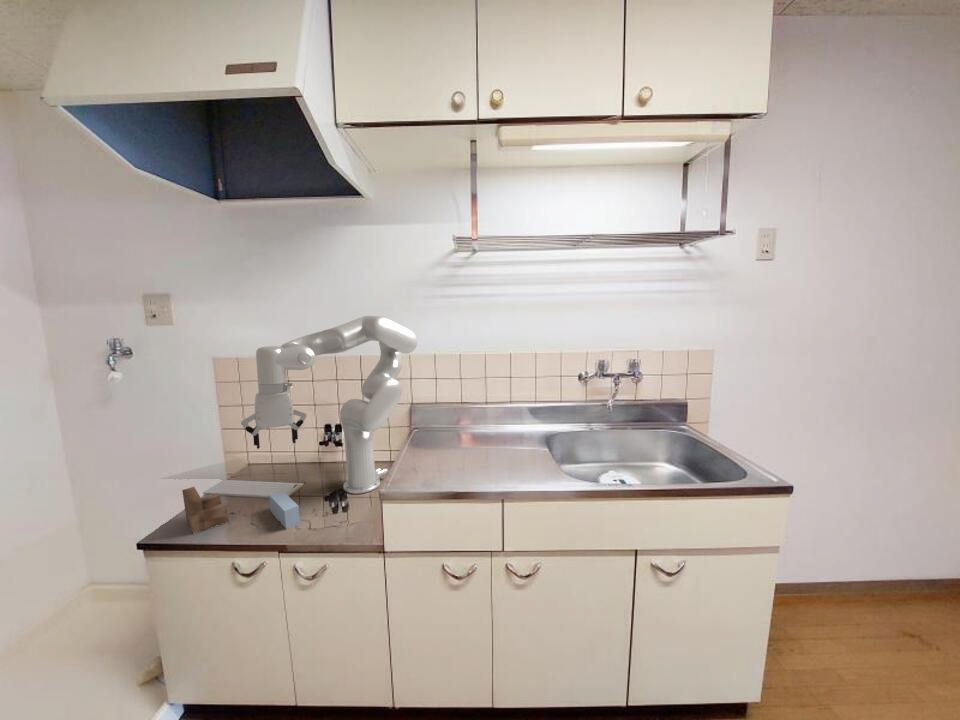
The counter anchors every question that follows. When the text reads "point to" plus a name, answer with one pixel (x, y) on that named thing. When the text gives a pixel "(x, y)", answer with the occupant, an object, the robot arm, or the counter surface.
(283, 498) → the slate slat
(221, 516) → the walnut end cap
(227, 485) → the baseboard molding
